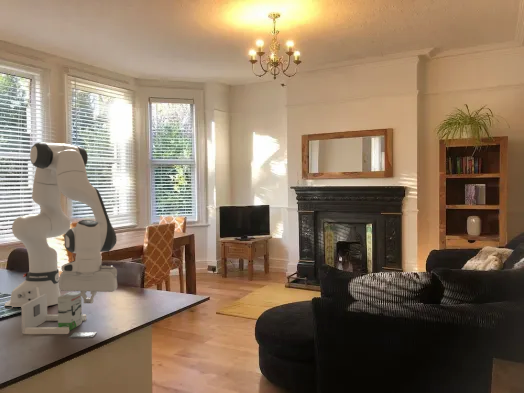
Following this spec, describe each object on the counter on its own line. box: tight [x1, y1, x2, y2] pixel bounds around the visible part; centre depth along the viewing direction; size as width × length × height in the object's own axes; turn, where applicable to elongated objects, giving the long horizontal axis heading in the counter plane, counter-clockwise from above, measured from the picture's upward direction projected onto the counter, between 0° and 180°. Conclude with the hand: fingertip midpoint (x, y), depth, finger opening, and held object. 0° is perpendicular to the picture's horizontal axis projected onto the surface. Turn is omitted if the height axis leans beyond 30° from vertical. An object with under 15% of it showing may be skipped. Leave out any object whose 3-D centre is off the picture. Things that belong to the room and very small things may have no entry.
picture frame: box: [67, 331, 97, 339], centre depth 157 cm, size 8×4×1 cm, turn 92°
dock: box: [20, 294, 87, 335], centre depth 167 cm, size 16×16×10 cm
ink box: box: [57, 291, 83, 331], centre depth 166 cm, size 9×5×12 cm, turn 174°
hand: (88, 303), depth 166 cm, fingers closed
